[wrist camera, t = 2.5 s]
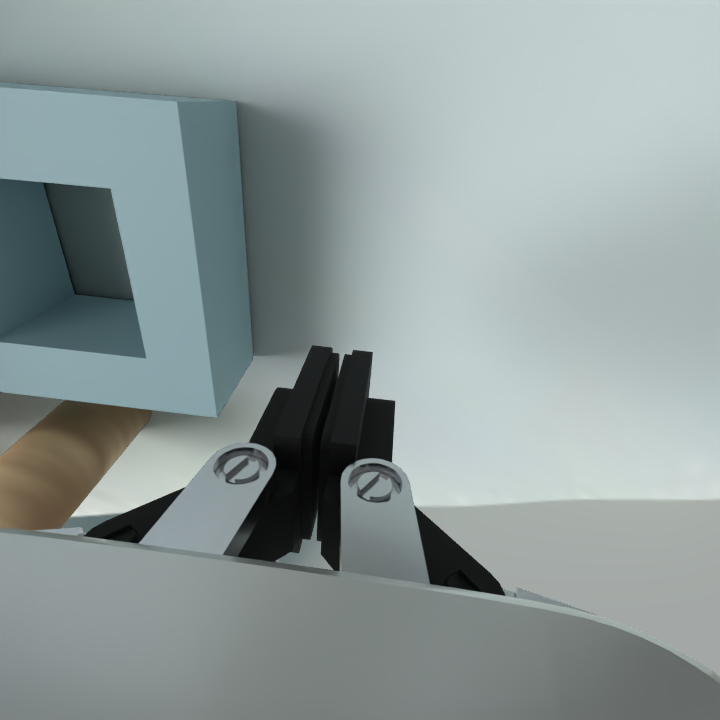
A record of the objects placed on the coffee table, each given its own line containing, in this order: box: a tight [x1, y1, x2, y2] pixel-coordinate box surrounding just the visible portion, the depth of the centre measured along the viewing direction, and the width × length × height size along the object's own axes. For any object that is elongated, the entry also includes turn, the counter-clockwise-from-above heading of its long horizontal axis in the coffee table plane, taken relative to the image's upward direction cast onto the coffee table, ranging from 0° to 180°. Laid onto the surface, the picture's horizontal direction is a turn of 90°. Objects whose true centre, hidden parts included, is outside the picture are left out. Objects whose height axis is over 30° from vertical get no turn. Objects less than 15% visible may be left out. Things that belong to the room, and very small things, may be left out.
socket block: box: [0, 82, 253, 418], centre depth 18 cm, size 12×12×5 cm
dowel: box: [0, 400, 151, 530], centre depth 21 cm, size 4×4×10 cm
